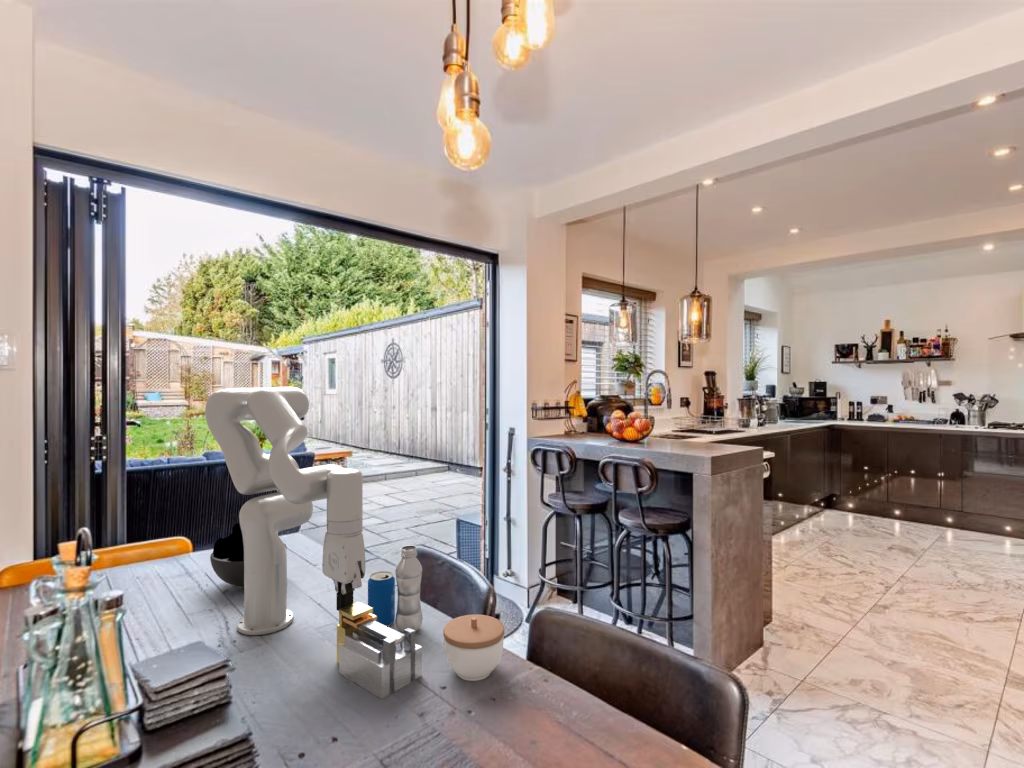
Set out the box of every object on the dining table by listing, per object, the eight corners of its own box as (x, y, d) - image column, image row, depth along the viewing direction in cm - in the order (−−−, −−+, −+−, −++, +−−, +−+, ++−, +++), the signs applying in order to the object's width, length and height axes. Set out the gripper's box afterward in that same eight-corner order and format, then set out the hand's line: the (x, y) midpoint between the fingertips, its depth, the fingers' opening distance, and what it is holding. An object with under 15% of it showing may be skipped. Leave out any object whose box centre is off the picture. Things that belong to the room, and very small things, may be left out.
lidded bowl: (480, 696, 100) (481, 639, 100) (430, 676, 107) (430, 622, 107) (515, 666, 111) (515, 614, 111) (467, 649, 118) (467, 600, 118)
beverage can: (387, 631, 126) (388, 581, 126) (363, 628, 127) (363, 579, 127) (398, 619, 132) (399, 571, 132) (375, 616, 134) (375, 569, 133)
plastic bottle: (427, 626, 128) (427, 545, 128) (413, 639, 122) (413, 553, 122) (404, 622, 131) (404, 542, 130) (389, 634, 124) (389, 550, 124)
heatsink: (339, 672, 108) (339, 624, 108) (379, 653, 116) (379, 608, 116) (381, 699, 99) (381, 646, 99) (421, 675, 107) (422, 627, 107)
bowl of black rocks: (210, 604, 140) (210, 534, 140) (209, 579, 158) (209, 516, 157) (291, 589, 150) (291, 524, 150) (282, 567, 168) (282, 508, 167)
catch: (336, 662, 112) (337, 610, 112) (360, 651, 117) (360, 600, 117) (350, 670, 109) (350, 616, 109) (374, 658, 114) (374, 607, 113)
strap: (410, 638, 105) (410, 631, 105) (390, 648, 101) (390, 641, 101) (362, 615, 115) (362, 609, 115) (342, 624, 111) (342, 617, 111)
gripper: (310, 523, 117) (310, 605, 117) (350, 536, 108) (350, 625, 108) (340, 516, 123) (340, 595, 123) (380, 528, 113) (380, 612, 114)
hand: (345, 609), depth 115 cm, fingers closed
